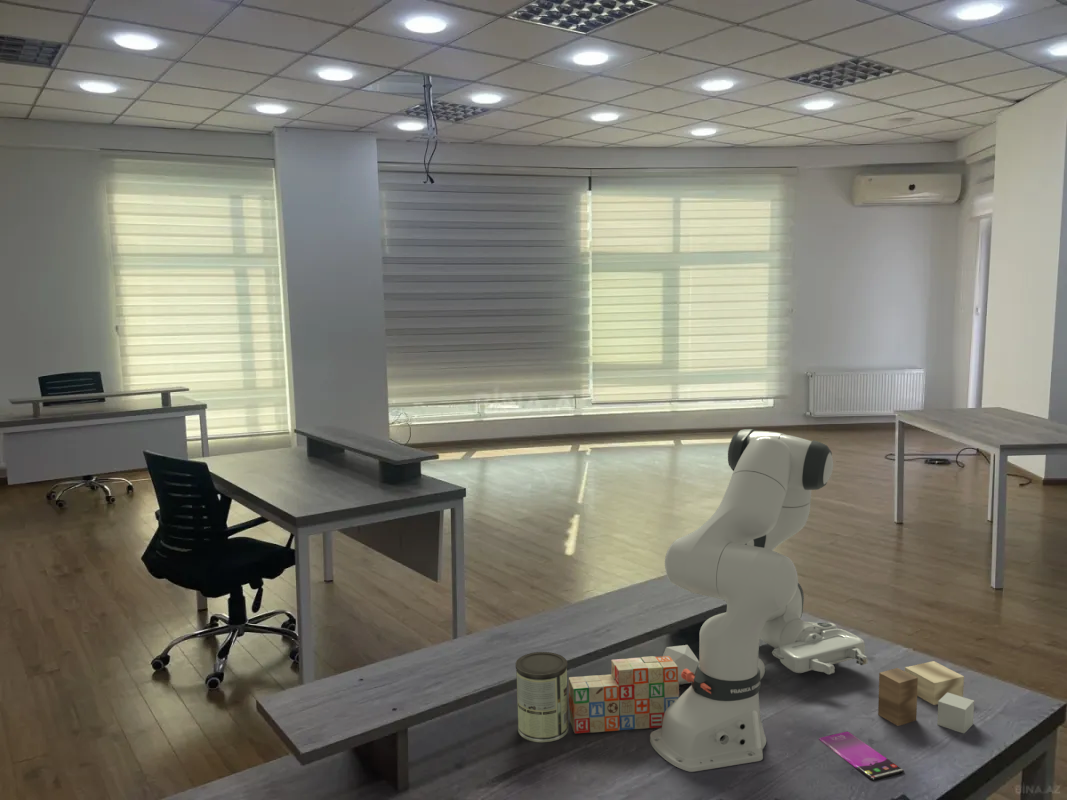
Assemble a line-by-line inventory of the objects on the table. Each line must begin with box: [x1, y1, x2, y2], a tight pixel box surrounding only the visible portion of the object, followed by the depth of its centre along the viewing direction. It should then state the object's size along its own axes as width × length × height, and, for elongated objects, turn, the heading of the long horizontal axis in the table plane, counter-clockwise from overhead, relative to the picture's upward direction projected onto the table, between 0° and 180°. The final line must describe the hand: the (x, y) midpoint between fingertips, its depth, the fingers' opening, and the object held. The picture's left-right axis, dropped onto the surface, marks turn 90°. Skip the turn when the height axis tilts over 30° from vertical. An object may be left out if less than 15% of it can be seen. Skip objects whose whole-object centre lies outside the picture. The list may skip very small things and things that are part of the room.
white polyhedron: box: [661, 644, 699, 686], centre depth 183 cm, size 8×9×10 cm
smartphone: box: [818, 731, 905, 782], centre depth 153 cm, size 7×15×1 cm, turn 18°
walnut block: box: [877, 667, 918, 727], centre depth 165 cm, size 5×5×9 cm
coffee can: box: [515, 651, 570, 743], centre depth 164 cm, size 10×10×14 cm
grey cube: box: [936, 692, 975, 734], centre depth 162 cm, size 5×5×5 cm
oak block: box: [904, 660, 965, 706], centre depth 175 cm, size 8×8×5 cm
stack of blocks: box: [568, 655, 680, 734], centre depth 165 cm, size 21×6×12 cm, turn 96°
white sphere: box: [758, 657, 766, 680], centre depth 184 cm, size 8×6×6 cm
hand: (848, 666), depth 177 cm, fingers open, 8 cm apart
